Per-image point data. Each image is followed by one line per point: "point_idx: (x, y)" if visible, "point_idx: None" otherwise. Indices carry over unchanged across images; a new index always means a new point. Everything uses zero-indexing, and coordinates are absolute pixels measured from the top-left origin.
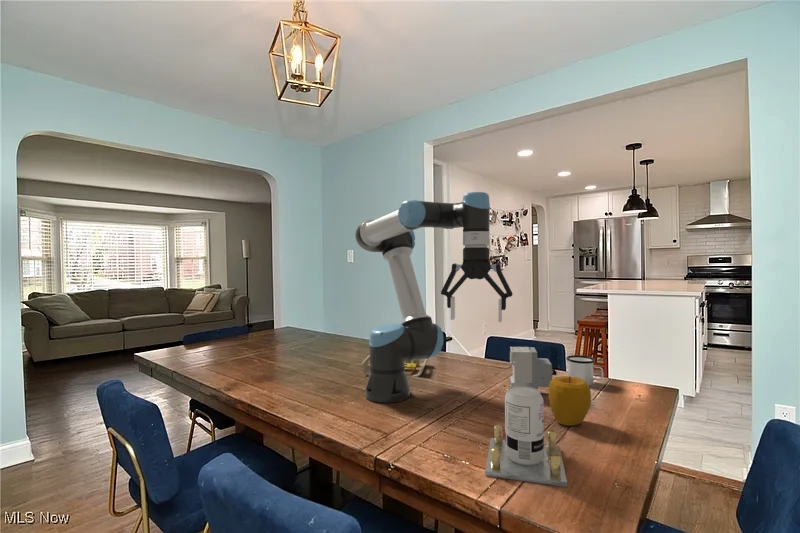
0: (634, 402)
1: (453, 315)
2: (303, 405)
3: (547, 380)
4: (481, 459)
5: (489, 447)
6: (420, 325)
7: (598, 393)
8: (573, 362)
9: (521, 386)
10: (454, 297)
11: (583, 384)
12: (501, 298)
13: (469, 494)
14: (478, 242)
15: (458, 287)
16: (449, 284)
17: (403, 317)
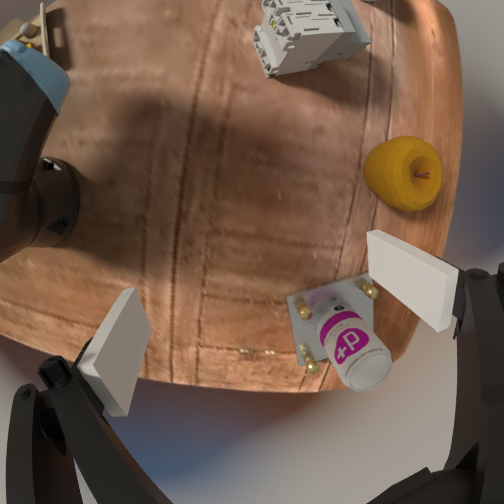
0: (434, 60)
1: (145, 334)
2: (4, 303)
3: (346, 54)
4: (285, 339)
5: (291, 321)
6: None
7: (393, 28)
8: None
9: (369, 358)
10: (100, 372)
11: (439, 187)
12: (453, 314)
13: (291, 390)
14: None
15: (133, 462)
16: (68, 481)
17: None
